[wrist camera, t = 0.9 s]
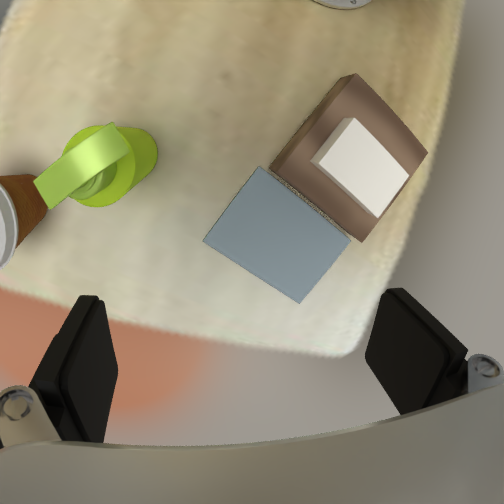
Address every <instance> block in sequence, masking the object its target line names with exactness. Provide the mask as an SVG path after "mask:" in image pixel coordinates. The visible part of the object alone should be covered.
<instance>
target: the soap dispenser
mask: <svg viewBox="0 0 504 504" xmlns="http://www.w3.org/2000/svg"><path fill="white" fill-rule="evenodd" d="M157 155H158V152H157V146H156V143H155V141H154V139H153V138H152V137H151V136H150V135H149V134H148V133H147V132H145V131H144V130H141V129H138V128H128V127H116V126H115V124H114V123H113V122H111V123H109V124H107V125H106V126H91V127H88V128H85V129H83V130H81V131H80V132H78V133H77V134H75V135H74V136H73V137H72V138H71V139H70V141H69V142H68V143H67V145H66V147H65V149H64V151H63V154H62V156H61V157H60V158H59V159H58V160H57V161H56V162H54V163H53V164H52V165H51V166H50V167H49V168H47V169H46V170H45V171H44V172H43V173H42V174H41V175H39V176H38V177H37V178H36V179H35V180H34V181H33V182H34V184H35V186H36V187H37V189H38V191H39V193H40V194H41V196H42V198H43V199H44V201H45V203H46V204H47V206H48V208H49V209H50V210H51V209H53V208H54V207H55V206H57V205H58V204H59V203H60V202H62V201H63V200H64V199H66V198H67V197H70V198H73V199H75V200H76V201H78V202H79V203H81V204H83V205H86V206H90V207H104V206H107V205H110V204H112V203H114V202H116V201H118V200H119V199H120V198H121V197H122V196H124V195H125V194H126V193H127V192H128V191H129V190H130V189H132V188H133V187H134V186H135V185H136V184H137V183H139V182H140V181H141V180H142V179H143V178H145V177H146V176H147V175H148V174H149V173H150V172H151V171H152V170H153V168H154V166H155V164H156V161H157Z"/></svg>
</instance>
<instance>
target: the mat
mask: <svg viewBox="0 0 504 504" xmlns="http://www.w3.org/2000/svg"><path fill="white" fill-rule="evenodd" d="M203 242H205V243H206V244H208V245H209V246H211V247H212V248H214V249H215V250H217V251H218V252H220V253H221V254H223V255H225V256H226V257H228V258H229V259H231V260H232V261H234V262H235V263H237V264H238V265H240V266H241V267H243V268H244V269H246V270H248V271H249V272H251V273H252V274H254V275H255V276H257V277H258V278H260V279H262V280H263V281H265V282H266V283H268V284H269V285H271V286H272V287H274V288H276V289H277V290H279V291H280V292H282V293H283V294H285V295H286V296H288V297H290V298H291V299H293V300H294V301H296V302H297V303H299V304H300V303H301V301H302V300H303V299H304V298H305V297H306V295H307V294H308V293H309V292H310V291H311V290H312V288H313V287H314V286H315V285H316V284H317V282H318V281H319V280H320V279H321V278H322V276H323V275H324V274H325V273H326V271H327V270H328V269H329V268H330V267H331V265H332V264H333V263H334V262H335V260H336V259H337V258H338V257H339V255H340V254H341V253H342V252H343V250H344V249H345V248H346V247H347V245H348V244H349V243H350V242H351V240H350V239H349V238H347V237H346V236H345V235H344V234H343V233H342V232H340V231H339V230H338V229H337V228H336V227H334V226H333V225H332V224H331V223H330V222H328V221H327V220H326V219H325V218H324V217H322V216H321V215H320V214H319V213H318V212H316V211H315V210H314V209H313V208H311V207H310V206H309V205H308V204H307V203H305V202H304V201H303V200H302V199H300V198H299V197H298V196H297V195H295V194H294V193H293V192H292V191H290V190H289V189H288V188H287V187H285V186H284V185H283V184H281V183H280V182H279V181H278V180H276V179H275V178H274V177H272V176H271V175H270V174H269V173H267V172H266V171H265V170H263V169H262V168H261V167H258V168H257V169H256V170H255V172H254V173H253V174H252V176H251V177H250V178H249V179H248V181H247V182H246V183H245V185H244V186H243V187H242V189H241V190H240V191H239V193H238V194H237V195H236V197H235V198H234V199H233V201H232V202H231V203H230V205H229V206H228V207H227V209H226V210H225V211H224V213H223V214H222V215H221V217H220V218H219V219H218V221H217V222H216V223H215V225H214V226H213V227H212V229H211V230H210V232H209V233H208V234H207V236H206V237H205V238H204V240H203Z"/></svg>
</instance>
